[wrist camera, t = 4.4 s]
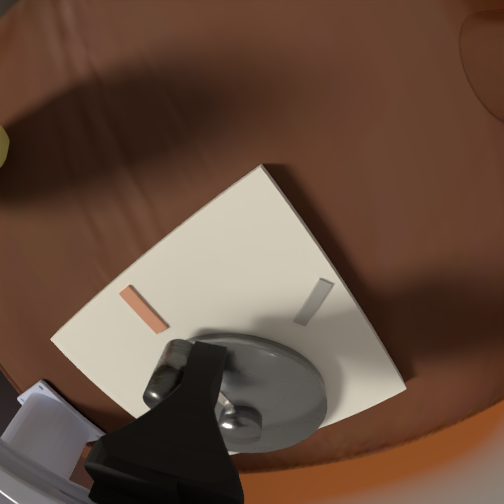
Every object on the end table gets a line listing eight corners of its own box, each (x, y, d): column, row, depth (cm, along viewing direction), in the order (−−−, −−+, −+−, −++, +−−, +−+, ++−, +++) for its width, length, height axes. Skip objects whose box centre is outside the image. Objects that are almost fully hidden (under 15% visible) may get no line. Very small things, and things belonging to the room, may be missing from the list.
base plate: (201, 451, 21) (198, 462, 20) (57, 330, 17) (49, 340, 16) (402, 377, 16) (407, 390, 15) (261, 163, 12) (259, 167, 11)
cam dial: (346, 419, 16) (354, 474, 12) (213, 449, 19) (204, 496, 15) (270, 289, 13) (266, 356, 9) (112, 351, 15) (80, 403, 12)
